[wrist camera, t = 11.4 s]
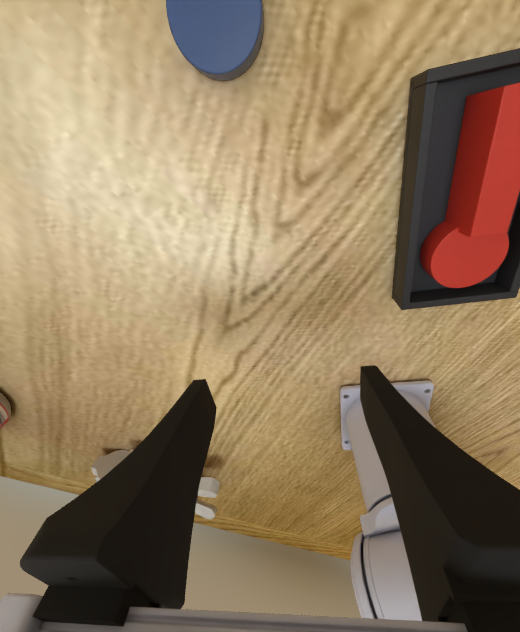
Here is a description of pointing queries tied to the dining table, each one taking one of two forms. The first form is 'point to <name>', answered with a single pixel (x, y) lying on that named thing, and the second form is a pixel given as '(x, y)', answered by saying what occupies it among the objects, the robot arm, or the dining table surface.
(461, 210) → the red spoon
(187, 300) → the dining table surface
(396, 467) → the robot arm
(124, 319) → the dining table surface
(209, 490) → the white faceted figure
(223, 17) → the blue spoon
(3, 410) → the soda can
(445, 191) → the tray
